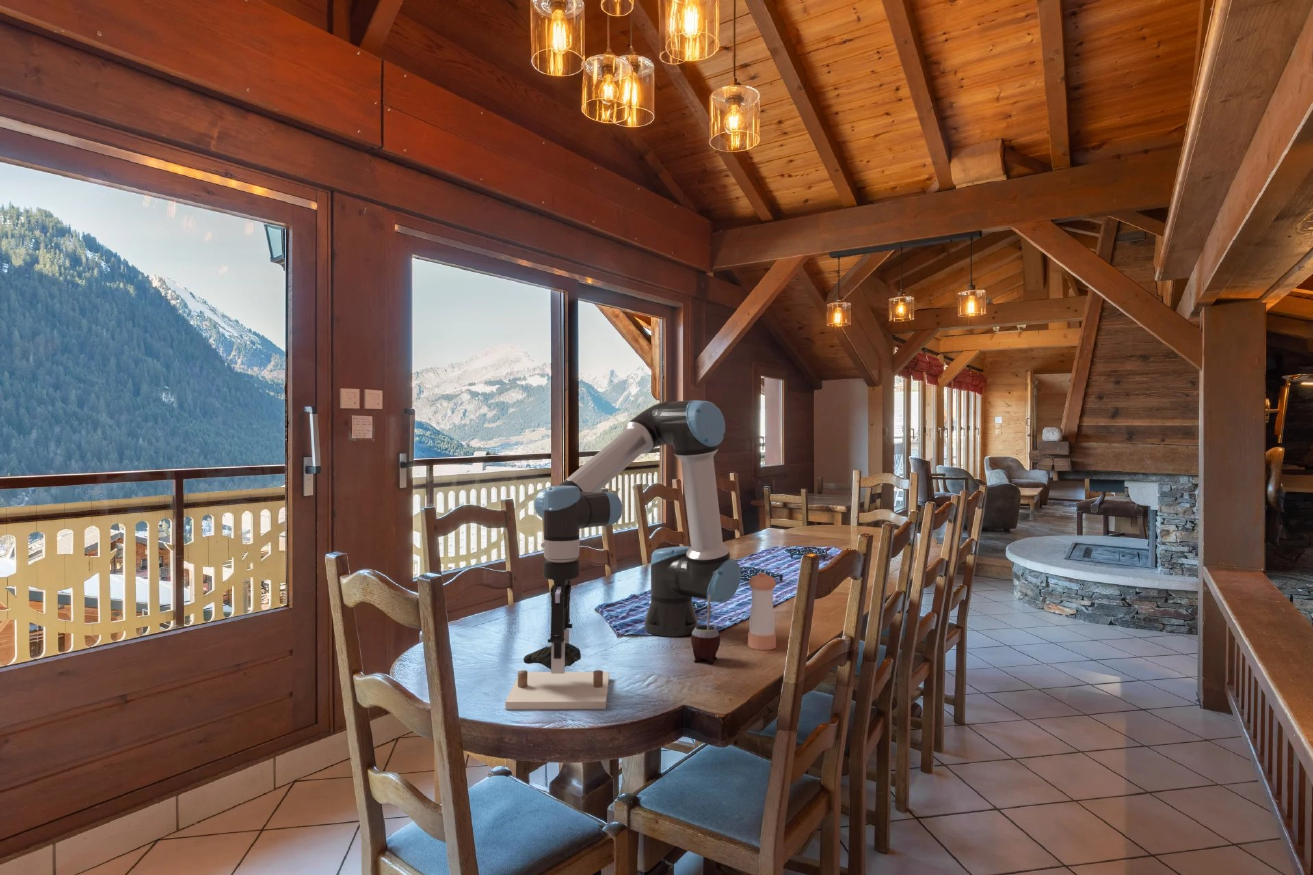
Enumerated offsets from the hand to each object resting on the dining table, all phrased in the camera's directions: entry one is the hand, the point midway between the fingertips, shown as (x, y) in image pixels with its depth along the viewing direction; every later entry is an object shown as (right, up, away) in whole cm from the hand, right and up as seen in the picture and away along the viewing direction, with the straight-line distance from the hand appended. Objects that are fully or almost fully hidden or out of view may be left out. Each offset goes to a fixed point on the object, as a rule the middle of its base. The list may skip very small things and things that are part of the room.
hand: (560, 665), depth 145 cm
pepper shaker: (+48, -6, +33) cm, 59 cm away
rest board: (0, -6, 0) cm, 6 cm away
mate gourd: (+32, -6, +22) cm, 40 cm away
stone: (-2, 0, 0) cm, 2 cm away
